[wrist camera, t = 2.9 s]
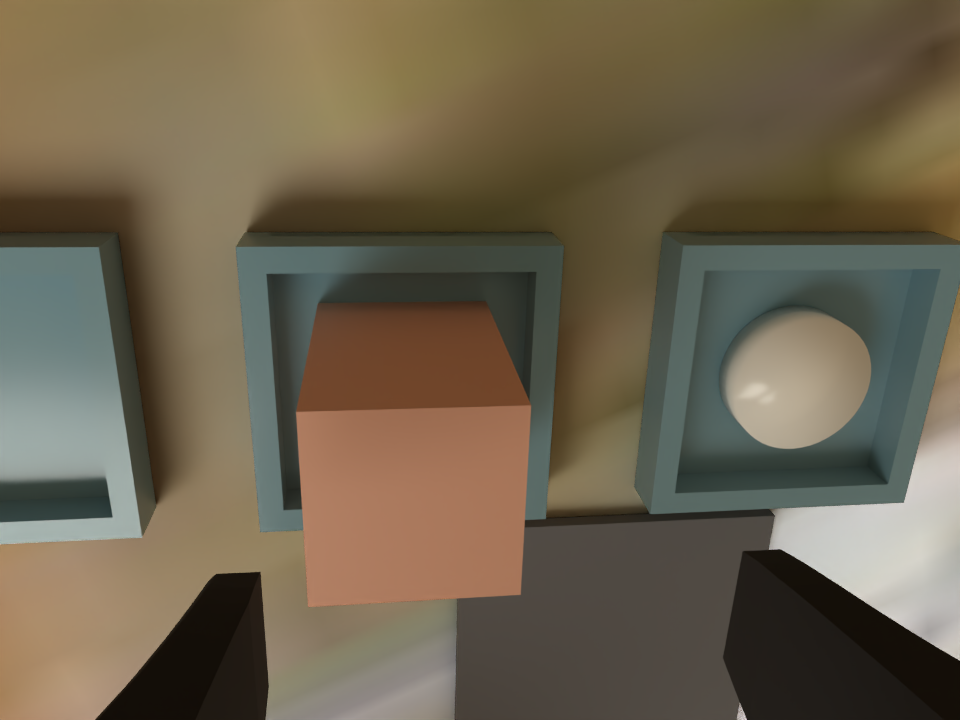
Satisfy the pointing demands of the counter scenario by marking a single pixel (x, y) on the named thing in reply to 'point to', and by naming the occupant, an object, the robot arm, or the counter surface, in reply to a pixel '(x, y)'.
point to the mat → (610, 621)
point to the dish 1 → (69, 393)
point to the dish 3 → (762, 288)
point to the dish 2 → (387, 278)
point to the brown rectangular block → (411, 454)
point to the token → (794, 376)
